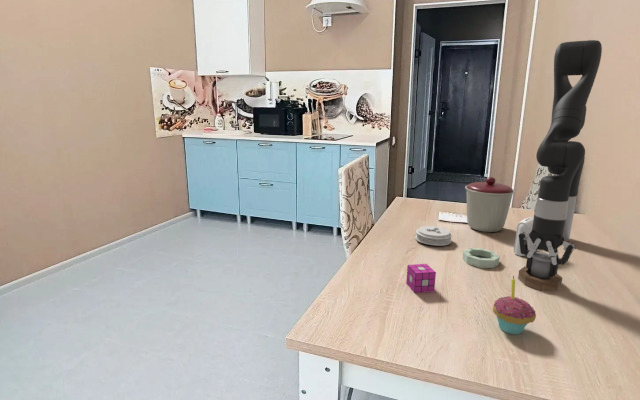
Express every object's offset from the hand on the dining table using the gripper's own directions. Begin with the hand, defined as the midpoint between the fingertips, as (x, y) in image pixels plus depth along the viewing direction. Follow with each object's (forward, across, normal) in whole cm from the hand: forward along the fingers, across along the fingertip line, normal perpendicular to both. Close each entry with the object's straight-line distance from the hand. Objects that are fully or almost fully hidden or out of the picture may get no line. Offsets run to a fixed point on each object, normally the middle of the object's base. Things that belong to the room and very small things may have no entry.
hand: (540, 272), depth 109 cm
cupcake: (+3, -4, +30) cm, 30 cm away
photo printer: (+3, +11, -21) cm, 24 cm away
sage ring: (+3, +18, -2) cm, 18 cm away
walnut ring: (+3, 0, 0) cm, 3 cm away
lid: (+3, +38, -7) cm, 39 cm away
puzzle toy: (+3, +21, +28) cm, 35 cm away
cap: (+1, 0, 0) cm, 1 cm away
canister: (+3, +32, -36) cm, 48 cm away
